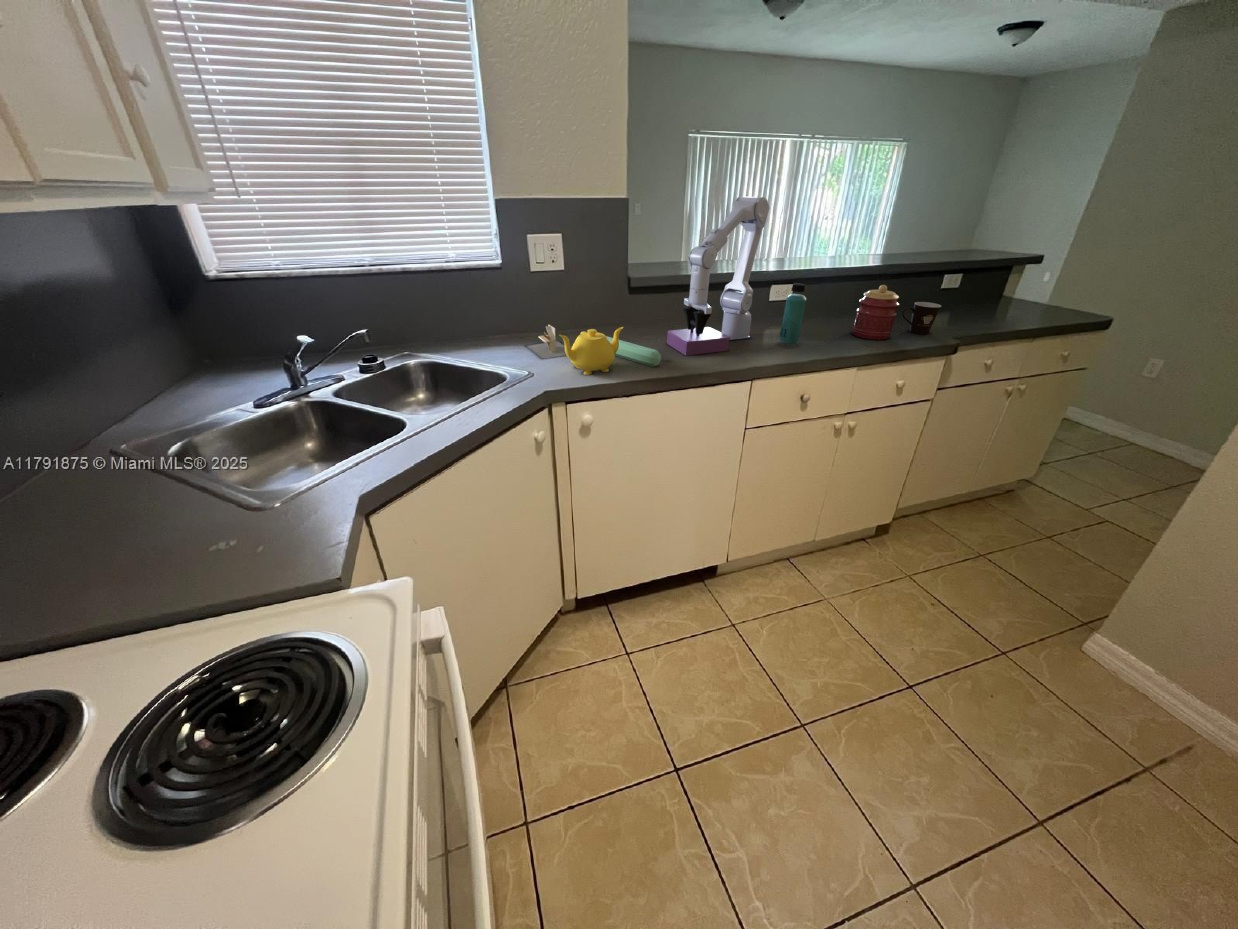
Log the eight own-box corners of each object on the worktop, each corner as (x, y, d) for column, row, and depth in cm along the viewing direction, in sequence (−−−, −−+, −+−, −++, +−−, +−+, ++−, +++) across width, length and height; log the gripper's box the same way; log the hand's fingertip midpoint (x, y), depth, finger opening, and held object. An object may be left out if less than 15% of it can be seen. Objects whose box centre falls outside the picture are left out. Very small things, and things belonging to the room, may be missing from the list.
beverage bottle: (800, 345, 167) (813, 283, 156) (792, 349, 162) (804, 286, 152) (783, 341, 170) (794, 281, 160) (774, 344, 166) (785, 283, 156)
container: (662, 345, 143) (599, 328, 156) (651, 357, 140) (588, 339, 154) (665, 361, 147) (603, 343, 161) (654, 373, 145) (592, 354, 158)
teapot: (610, 356, 153) (610, 319, 147) (632, 370, 142) (634, 331, 136) (550, 364, 145) (548, 326, 140) (569, 381, 134) (567, 340, 128)
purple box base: (706, 339, 171) (707, 328, 169) (727, 350, 160) (729, 339, 158) (666, 343, 166) (667, 332, 164) (685, 355, 155) (686, 343, 153)
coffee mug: (932, 330, 185) (941, 303, 179) (931, 336, 178) (940, 308, 173) (898, 326, 190) (906, 299, 185) (896, 331, 184) (904, 304, 178)
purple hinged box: (709, 328, 169) (710, 314, 166) (730, 339, 158) (732, 324, 156) (667, 332, 164) (668, 317, 161) (686, 343, 153) (688, 328, 150)
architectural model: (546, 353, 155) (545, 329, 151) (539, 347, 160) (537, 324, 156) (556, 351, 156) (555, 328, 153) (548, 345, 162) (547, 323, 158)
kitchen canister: (896, 336, 177) (912, 286, 168) (876, 342, 170) (891, 290, 161) (864, 328, 186) (877, 280, 177) (843, 333, 180) (856, 283, 171)
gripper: (677, 284, 157) (674, 326, 164) (699, 293, 146) (695, 338, 153) (696, 283, 160) (692, 325, 166) (719, 292, 148) (714, 336, 155)
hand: (695, 331), depth 160 cm, fingers closed on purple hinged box, 5 cm apart
